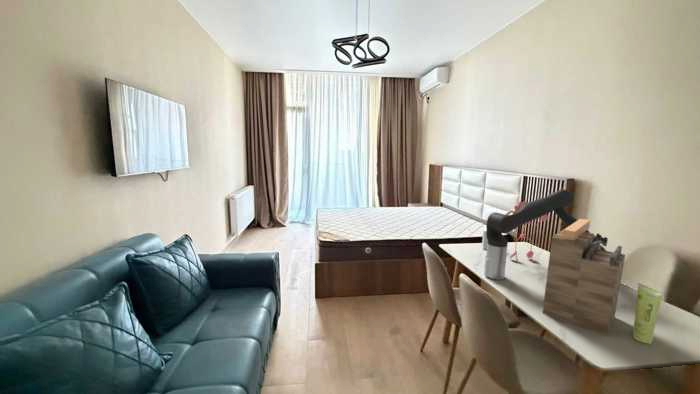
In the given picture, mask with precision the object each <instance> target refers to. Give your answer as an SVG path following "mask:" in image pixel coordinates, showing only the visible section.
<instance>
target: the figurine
mask: <svg viewBox="0 0 700 394" xmlns="http://www.w3.org/2000/svg"><path fill="white" fill-rule="evenodd" d="M526 203H528V201H519V202H518V205H514V210H510V211H508V212H506V213H504V215H511V214H515V213H517V212H518V210H519V208H520V207H521V206H522V205H523V204H526ZM548 219H549V214H546V215H544V216H542V217H540V220H539V221H538V222H537V223H532V222H528V223H525V224H523V230H522V233H521V234H520V235H519V237H518V239H517V240H516V241H515V244H517V242H518V241H519V239H520V238H521V239H525V238H526V239H528V240H530V241H531V245H530V251H528V252H527V253H526V257H527V258H528V259H530V258H531V263H534V260H533V256H534V251H532V247H533V243H534V240H533V239H530V238H529V237H527V236H526V234H525V233H524V231H525V228H526V225H527V224H530V225H532V226H533V225H534V226H538V225H539V224H540V222H541V221H542V222H546V221H548ZM513 257H515V259H516V263H519V259H518V251H517V245H515V248H514V252H513V253H512V254H511V255H510V257H509V260H511V259H513Z"/></svg>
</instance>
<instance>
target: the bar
mask: <svg viewBox="0 0 700 394" xmlns="http://www.w3.org/2000/svg"><path fill="white" fill-rule="evenodd" d="M577 220H578V221H576V222H575V223H573V224H572V225H570V226H569V227H567V226H566V227H565V228H564V231H563V239H567V240H572V241H574V240H575V239H576V238H578V237H579V236H580V235H581V234H583V233H584V232H585V231H586V230H587V229H588V230H589V229H590V226H591V225H590V224H591V220H590V219H585V218H579V219H577Z"/></svg>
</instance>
